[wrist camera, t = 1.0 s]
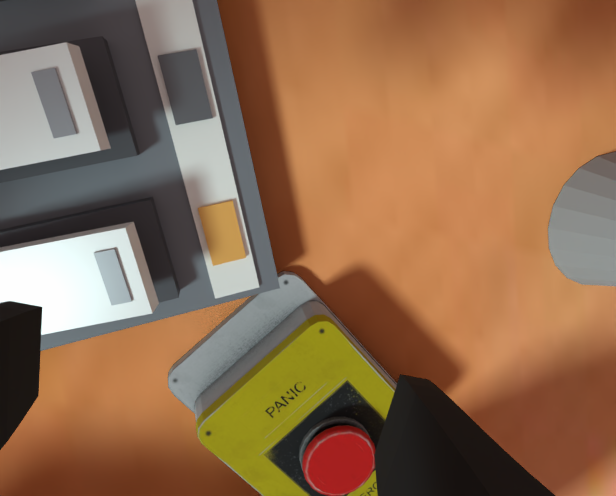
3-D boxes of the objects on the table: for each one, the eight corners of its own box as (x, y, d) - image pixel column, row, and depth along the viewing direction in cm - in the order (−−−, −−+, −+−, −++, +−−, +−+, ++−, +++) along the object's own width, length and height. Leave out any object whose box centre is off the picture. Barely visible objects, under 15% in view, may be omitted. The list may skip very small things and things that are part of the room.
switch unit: (-68, 363, 22) (-119, 408, 18) (-313, -129, 16) (-458, -201, 12) (273, 275, 25) (286, 300, 21) (175, -169, 19) (169, -238, 15)
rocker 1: (-56, 180, 17) (-78, 185, 16) (-99, 80, 16) (-126, 78, 15) (111, 148, 17) (99, 150, 16) (79, 46, 16) (64, 41, 15)
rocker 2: (9, 332, 19) (-7, 345, 18) (-25, 252, 18) (-44, 261, 17) (158, 303, 19) (151, 314, 18) (133, 221, 18) (124, 228, 17)
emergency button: (350, 591, 25) (148, 422, 20) (330, 527, 29) (160, 376, 25) (477, 476, 25) (302, 285, 20) (438, 429, 29) (287, 263, 25)
